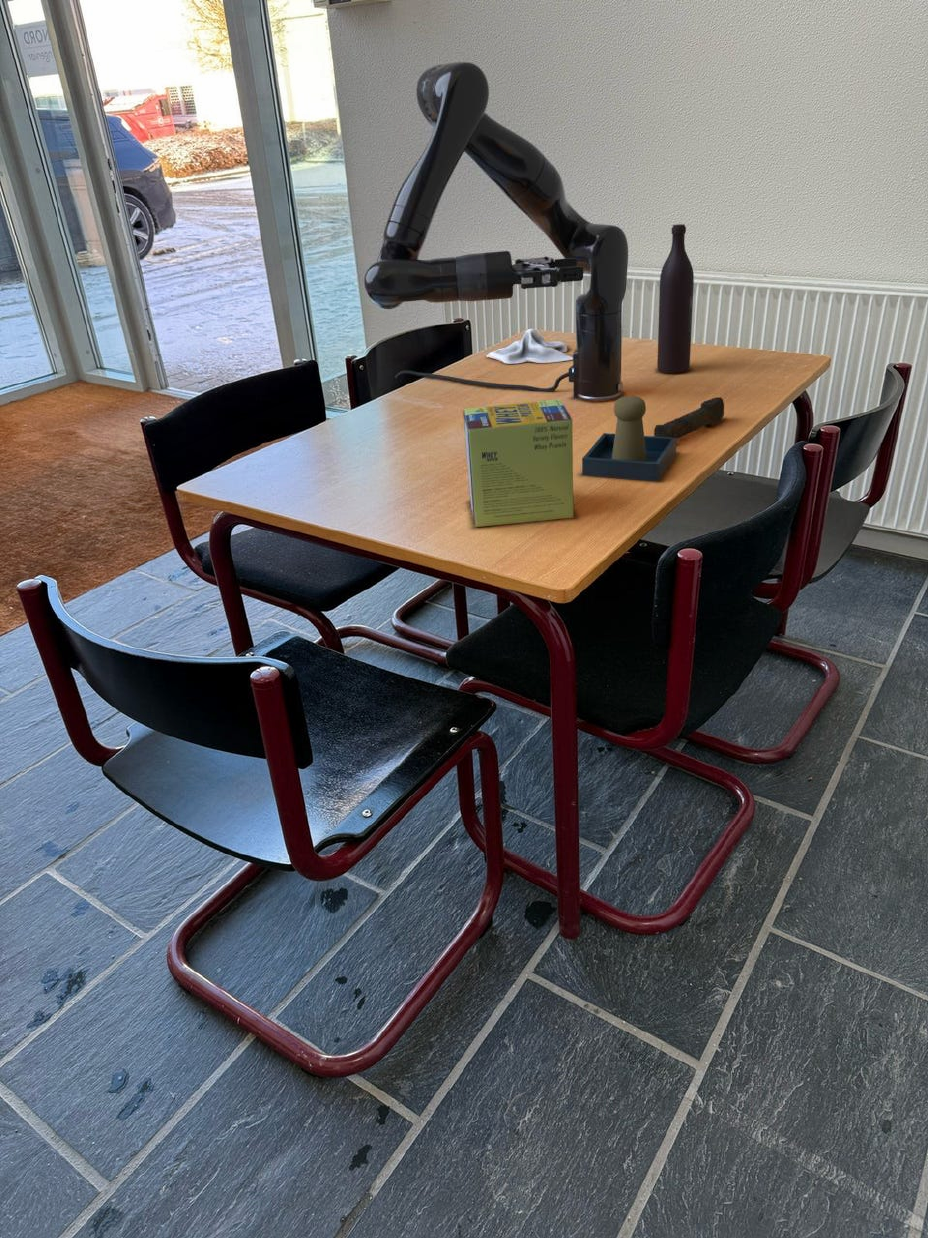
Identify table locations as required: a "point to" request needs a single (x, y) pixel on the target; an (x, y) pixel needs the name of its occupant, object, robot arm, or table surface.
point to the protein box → (519, 462)
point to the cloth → (532, 350)
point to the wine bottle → (675, 307)
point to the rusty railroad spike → (693, 420)
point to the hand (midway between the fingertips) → (579, 268)
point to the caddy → (604, 466)
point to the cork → (629, 429)
